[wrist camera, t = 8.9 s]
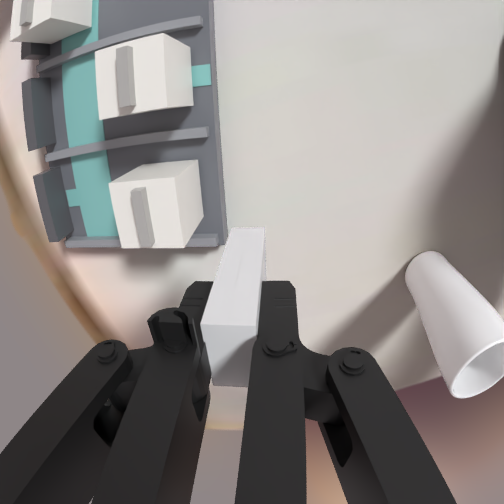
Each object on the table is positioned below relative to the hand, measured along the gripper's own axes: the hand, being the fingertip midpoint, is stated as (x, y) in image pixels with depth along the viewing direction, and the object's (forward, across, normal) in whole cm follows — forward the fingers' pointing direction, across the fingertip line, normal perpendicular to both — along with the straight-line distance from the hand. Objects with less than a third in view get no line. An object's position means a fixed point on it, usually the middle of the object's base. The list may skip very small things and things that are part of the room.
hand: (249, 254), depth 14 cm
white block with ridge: (+12, +8, -10) cm, 17 cm away
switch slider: (+12, +8, 0) cm, 14 cm away
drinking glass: (+14, -18, +10) cm, 24 cm away
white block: (+12, +17, -19) cm, 28 cm away
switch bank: (+14, +12, -10) cm, 21 cm away
